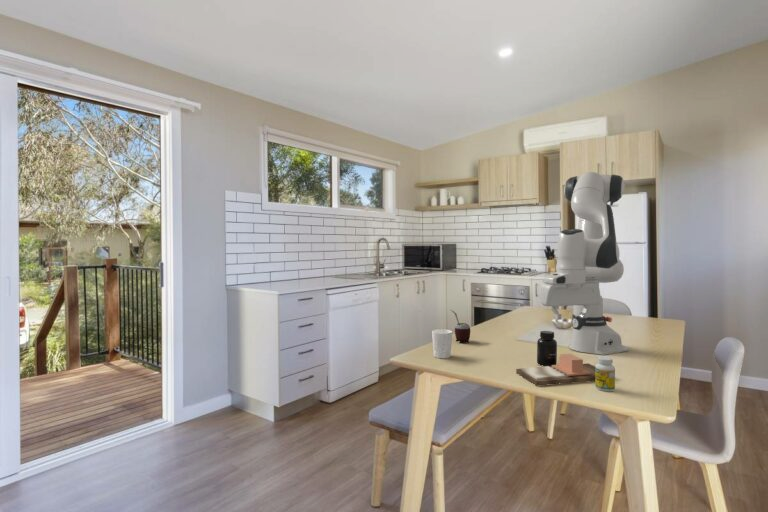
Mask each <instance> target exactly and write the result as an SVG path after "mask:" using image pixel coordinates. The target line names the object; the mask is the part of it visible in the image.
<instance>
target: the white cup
mask: <svg viewBox="0 0 768 512" xmlns="http://www.w3.org/2000/svg"><path fill="white" fill-rule="evenodd" d="M431 335H432V336H431V337H432V349H433V351H432V352H433V357H435V358H436V359H437V358H438V359H449V358H451V355H452V353H451V352H452V341H453V331H452V330H450V329H443V328H440V329H439V328H438V329H433V330H432V331H431Z"/></svg>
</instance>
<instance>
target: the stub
mask: <svg viewBox="0 0 768 512" xmlns="http://www.w3.org/2000/svg"><path fill="white" fill-rule="evenodd" d="M558 362H559V363H558V364H556V365H552V367H553V368H555V369H557V370H559V371H561V372H563V373H565V374H567V375H568V376H576V375H588V374H591V372H589V371H587V370H585V369H583V364H584V359H583V358H580V357H578V356H577V355H576V356H575V355H573V354H572V353H564V354H559V360H558Z"/></svg>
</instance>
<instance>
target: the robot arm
mask: <svg viewBox="0 0 768 512" xmlns="http://www.w3.org/2000/svg"><path fill="white" fill-rule="evenodd" d="M625 189H626V184H625V181H624V179H623V177H622V176H621V175H618V174H611V175H610V174H600V173H597V172H593V171H589V172H585V173H583V174H581V175H580V176H573V177H569V178H568V179H567V180H566V182H565V185H564V187H563V194H564V196H565V197H564V198H565V199H566V200H567V201H568V202H570V207H571V211H572V212H573V214H574V215H576V216H577V217H578V223H577V228H569V229H563V230H561V231H560V232H559V234H558V238H557V239H558V240H557V247H556V248H557V249H556V256H557V262H556V263H555V271H554V272H552V273H550V274H547V275H545V276H543V277H542V281H543V283H544V284H542V287H541V293H540V302H541V304H542V305H543V306H545V307H551V311H552V312H553V314H554V319H555V320H562V315H563V314H561V313H560V312H559V311H558V310H559V307H567V306H568V307H571V306H572V307H573V311H572V312H573V313H572V315H571V316H572V317H571V322H572V331H571V339H570V342H569V345H568V348H569V349H570V350H573V351H577V352H580V353H587V354H596V355H600V356H604V355H610V354H616V353H623V352H628V351H629V348H628V347H627V346H626V345H623V344H622V338H621V335H620V333H618V332H617V331H615V330H614V329H613V328H611V327H610V326H609V325H607V322H608V323H612V321H613V317H611V316H604V299H603V297H602V295H601V290H600V283H601V284H607V283H615V282H618V281H619V280H621V279H622V277H623V276H624V264H623V262H622V260H621V259H620V254H621V253H620V247H619V245H618V242H617V236H616V227H615V218H614V212H613V209H612V206H613V204H615V203H616V202H618V201H620V199H622V197H623V195H624V192H625ZM608 203H609V204H608Z"/></svg>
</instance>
